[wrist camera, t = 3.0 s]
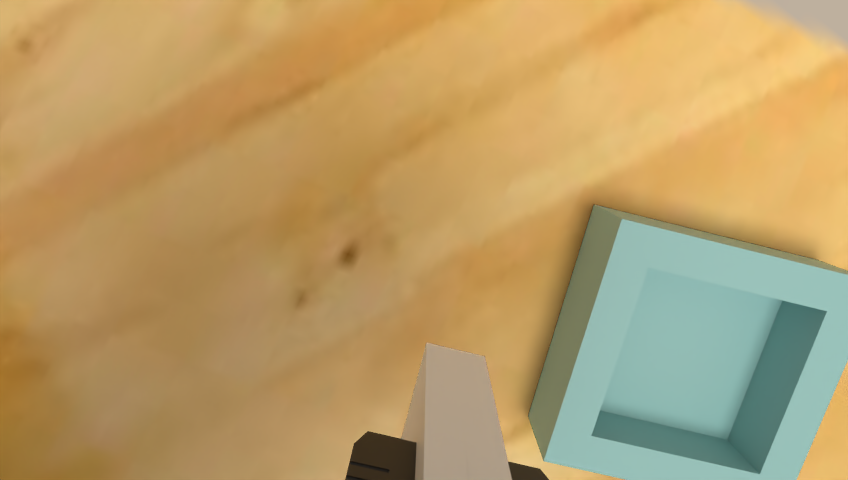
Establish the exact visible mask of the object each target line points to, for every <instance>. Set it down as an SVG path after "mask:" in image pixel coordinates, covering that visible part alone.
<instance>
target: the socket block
mask: <svg viewBox="0 0 848 480" xmlns="http://www.w3.org/2000/svg"><path fill="white" fill-rule="evenodd" d="M847 361H848V271H846V270H844V269H841V268H838V267H836V266H833V265H830V264H827V263H825V262H822V261H819V260H816V259H812V258H808V257H804V256H800V255H796V254H792V253H788V252H784V251H780V250H776V249H771V248H767V247H763V246H759V245H755V244H751V243H747V242H743V241H739V240H735V239H731V238H727V237H723V236H719V235H715V234H711V233H707V232H703V231H699V230H695V229H691V228H687V227H683V226H679V225H675V224H671V223H667V222H663V221H659V220H655V219H651V218H647V217H643V216H639V215H635V214H631V213H627V212H623V211H619V210H615V209H610V208H606V207H602V206H598V205H594V206H593V209H592V212H591V216H590V219H589V222H588V225H587V228H586V232H585V235H584V238H583V241H582V244H581V248H580V251H579V254H578V257H577V261H576V264H575V267H574V270H573V273H572V277H571V280H570V283H569V286H568V289H567V293H566V296H565V299H564V302H563V305H562V309H561V312H560V315H559V318H558V322H557V325H556V328H555V331H554V334H553V338H552V341H551V344H550V347H549V350H548V354H547V357H546V360H545V363H544V367H543V370H542V373H541V376H540V379H539V383H538V386H537V389H536V392H535V395H534V399H533V402H532V405H531V408H530V411H529V415H528V417H529V420H530V423H531V426H532V429H533V432H534V435H535V438H536V440H537V443H538V446H539V449H540V452H541V455H542V458H543V461H545V462H550V463H554V464H559V465H563V466H568V467H572V468H577V469H581V470H586V471H590V472H594V473H599V474H603V475H608V476H612V477H617V478H621V479H626V480H797V477H798V475H799V473H800V470H801V468H802V466H803V463H804V461H805V459H806V456H807V454H808V452H809V449H810V447H811V445H812V442H813V440H814V438H815V435H816V433H817V431H818V428H819V426H820V424H821V421H822V419H823V417H824V414H825V412H826V410H827V407H828V405H829V403H830V400H831V398H832V396H833V393H834V391H835V389H836V386H837V384H838V382H839V379H840V377H841V375H842V372H843V370H844V368H845V365H846V363H847Z"/></svg>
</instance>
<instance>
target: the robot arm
mask: <svg viewBox="0 0 848 480" xmlns="http://www.w3.org/2000/svg"><path fill="white" fill-rule="evenodd" d="M345 480H549V479H548V478H547V477H546V476H545V474H544V473H543V472H542V471H541V470H540V469H538V468H534V467H529V466H525V465H521V464H516V463H512V462H508V460H507V455H506V450H505V446H504V441H503V437H502V432H501V428H500V423H499V419H498V414H497V409H496V405H495V400H494V396H493V391H492V387H491V382H490V378H489V373H488V369H487V364H486V359H485V356H481V355H477V354H473V353H469V352H464V351H460V350H456V349H452V348H447V347H443V346H439V345H435V344H431V343H426V347H425V350H424V354H423V358H422V362H421V365H420V369H419V373H418V377H417V381H416V384H415V388H414V392H413V396H412V400H411V403H410V407H409V411H408V415H407V418H406V422H405V426H404V430H403V434H402V437H401V439H399V438H395V437H390V436H386V435H382V434H377V433H373V432H369V431H368V432H367V433H365V434H364V435H363V436H362V437H361V438H360V439H359V440H358V441H356V442H355V443H354V446H353V450H352V455H351V459H350V463H349V467H348V471H347V475H346V479H345Z"/></svg>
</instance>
